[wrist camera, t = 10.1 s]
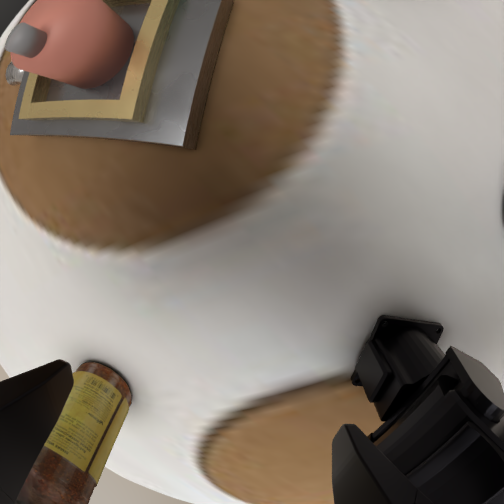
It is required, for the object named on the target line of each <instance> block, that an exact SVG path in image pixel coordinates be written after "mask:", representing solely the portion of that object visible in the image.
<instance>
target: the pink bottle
mask: <svg viewBox="0 0 504 504" xmlns="http://www.w3.org/2000/svg"><path fill="white" fill-rule="evenodd" d="M133 44H134V35H133V31H132V29H131V27H130V26H129V24H128V23H127V22H125V21H124V20H123V19H122V18H121V17H120V16H119V15H118V14H117V13H116V12H114V11H113V10H112V9H111V8H110V7H109V6H108V5H107V4H106V3H104V2H103V1H102V0H37V1H36V2H35V3H34V4H33V6H32V7H31V8H30V9H29V10H28V12H27V13H26V14H25V16H24V17H23V19H22V20H21V22H20V24H18V25H17V26H16V27H15V28H14V29H13V30H12V31H11V33H10V34H9V36H8V38H7V41H6V44H5V48H6V50H7V51H9V52H11V60H12V62H13V64H14V66H15V67H16V68H18V69H20V70H23V71H27V72H31V73H34V74H38V75H41V76H44V77H48V78H51V79H54V80H57V81H60V82H63V83H66V84H69V85H72V86H75V87H78V88H82V89H90V88H95V87H98V86H100V85H102V84H104V83H106V82H107V81H109V80H110V79H111V78H113V77H114V76H115V75H116V74H117V73H118V72H119V71H120V70H121V69H122V67H123V66H124V65H125V63H126V62H127V60H128V58H129V56H130V54H131V51H132V48H133Z"/></svg>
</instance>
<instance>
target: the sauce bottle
mask: <svg viewBox="0 0 504 504" xmlns="http://www.w3.org/2000/svg"><path fill="white" fill-rule="evenodd" d="M72 374H73V379H74V385H73V388H72V390H71V392H70V394H69V397H68V399H67V401H66V403H65V406H64V408H63V410H62V413H61V415H60V417H59V419H58V421H57V423H56V425H55V427H54V428H53V430H52V432H51V434H50V435H49V437H48V439H47V441H46V443H45V444H44V446H43V448H42V450H41V452H40V454H39V456H38V457H37V459H36V461H35V463H34V465H33V467H32V469H31V471H30V473H29V475H28V477H27V479H26V481H25V483H24V485H23V487H22V489H21V491H20V493H19V495H18V498H17V500H16V502H15V504H88V503H89V500H90V497H91V495H92V493H93V490H94V487H96V486H97V484H98V481H99V479H100V476H101V474H102V471H103V469H104V466H105V464H106V462H107V459H108V457H109V454H110V452H111V450H112V447H113V445H114V443H115V441H116V438H117V436H118V434H119V432H120V429H121V427H122V425H123V422H124V420H125V418H126V416H127V413H128V410H129V406H130V405H131V393H130V390H129V388H128V385H127V384H126V382H125V381H124V380H123V379H122V377H121V376H119V375H118V374H117V373H115V372H114V371H113V370H112V369H110V368H108V367H107V366H104V365H102V364H100V363H94V362H87V363H83V364H82V365H81V366H80V367H79V368H78V369H77V370H76V372H74V373H72Z"/></svg>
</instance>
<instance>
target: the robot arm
mask: <svg viewBox="0 0 504 504" xmlns="http://www.w3.org/2000/svg"><path fill="white" fill-rule="evenodd" d="M384 321H386V323H385V324H382V323H383V322H384ZM437 329H438V330H437ZM442 332H443V326H442V325H441V324H439V323H433V322H426V321H419V320H412V319H405V318H399V317H392V316H381V317H380V318H379V319H378V321H377V323H376V326H375V328H374V330H373V333H372V335H371V337H370V340H369V341H368V342H367V343H366V345H365V347H364V350H363V352H362V354H361V356H360V358H359V361H358V363H357V365H356V370H355V372H354V374H353V376H352V378H351V381H352V384H353V385H355V386H363V387H364V390H365V393H366V395H367V398H368V400H369V401H370V402H374V405H375V407H376V410H377V412H378V415H379V417H380V420H381V421H386V422H384V423H383V424H382V425H381V426H380V427H379V428H378V429H377V430H376V431H375V432H374V433H371V434H370V435H369V436H366V435H365V434H364V433H363V432H362V431H361V430H360V429H359V428H358V427H357V426H356V425H355V424H343V425H342V426H341V428H340V429H339V431H338V432H337V434H336V435H335V437H334V439H333V441H332V486H333V495H334V504H504V392H503V389H502V386H501V383H500V381H499V380H498V378H497V377H496V376H495V375H494V374H493V373H492V372H491V371H490V370H489V369H488V368H487V367H486V366H485V365H484V364H483V363H481V362H479V361H478V360H476V359H474V358H472V357H470V356H469V355H467V354H465V353H463V352H461V351H460V350H458V349H456V348H454V347H452V346H450V347H449V349H448V350H447V351H446V355H445V354H444V353H443V351H442V350H441V349H440V348H439V347H438V345H437V342H438V340H439V338H440V336H441V334H442ZM357 379H359V380H357ZM73 385H74V379H73V374H72V369H71V365H70V364H69V363H68V362H66V361H63V360H61V359H59V360H56V361H53V362H50V363H48V364H45V365H43V366H40V367H38V368H35V369H32V370H30V371H27V372H25V373H22V374H19V375H17V376H14V377H11V378H9V379H6V380H3V381H1V382H0V504H15V502H16V500H17V498H18V495H19V493H20V491H21V489H22V487H23V485H24V483H25V481H26V479H27V477H28V475H29V473H30V471H31V469H32V467H33V465H34V463H35V461H36V459H37V457H38V456H39V454H40V452H41V450H42V448H43V446H44V444H45V443H46V441H47V439H48V437H49V435H50V434H51V432H52V430H53V428H54V427H55V425H56V423H57V421H58V419H59V417H60V415H61V413H62V410H63V408H64V406H65V403H66V401H67V399H68V397H69V394H70V392H71V390H72V388H73Z"/></svg>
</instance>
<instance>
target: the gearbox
mask: <svg viewBox="0 0 504 504" xmlns="http://www.w3.org/2000/svg"><path fill="white" fill-rule="evenodd" d="M102 1H103V2H104V3H106V4H107V5H108V6H109V7H110V8H111V9H112V10H113V11H114V12H116V13H117V14H118V15H119V16H120V17H121V18H122V19H123V20H124V21H125V22H127V23H128V24H129V26H130V27H131V29H132V31H133V35H134V44H133V48H132V51H131V54H130V56H129V58H128V60H127V62H126V63H125V65H124V66H123V67H122V69H121V70H120V71H119V72H118V73H117V74H116V75H115V76H114V77H113V78H111V79H110V80H109V81H107V82H106V83H104V84H102V85H100V86H98V87H95V88H90V89H82V88H78V87H75V86H72V85H69V84H66V83H63V82H60V81H57V80H54V79H51V78H48V77H44V76H41V75H38V74H34V73H31V72H27V71H23V70H20V69H18V68H16V67H15V66H14V64H13V62H12V61H11V63H10V64H9V65H8V67H7V70H6V80H7V82H8V83H9V84H10V85H19V84H21V85H20V89H19V93H18V97H17V101H16V106H15V110H14V115H13V121H12V126H11V132H10V135H28V136H66V137H86V138H101V139H113V140H125V141H135V142H144V143H152V144H161V145H168V146H176V147H183V148H189V149H196V144H197V140H198V135H199V130H200V126H201V121H202V117H203V112H204V108H205V104H206V99H207V95H208V91H209V87H210V83H211V79H212V75H213V71H214V68H215V64H216V60H217V56H218V53H219V49H220V46H221V42H222V39H223V35H224V32H225V29H226V25H227V22H228V19H229V16H230V12H231V9H232V6H233V0H102Z"/></svg>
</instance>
